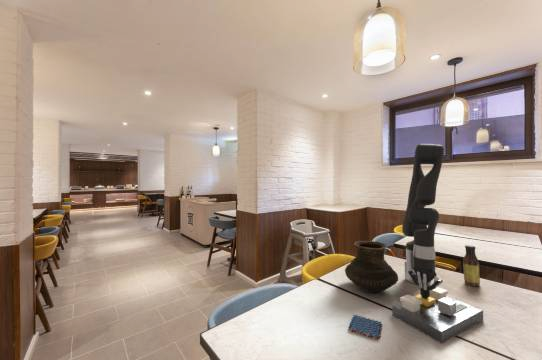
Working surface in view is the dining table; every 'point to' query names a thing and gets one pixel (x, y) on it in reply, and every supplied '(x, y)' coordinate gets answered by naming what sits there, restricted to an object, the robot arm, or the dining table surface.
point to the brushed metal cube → (447, 306)
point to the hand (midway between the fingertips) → (424, 297)
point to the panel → (440, 319)
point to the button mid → (426, 300)
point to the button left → (411, 303)
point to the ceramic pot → (371, 268)
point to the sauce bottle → (471, 267)
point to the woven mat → (366, 327)
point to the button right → (438, 293)
